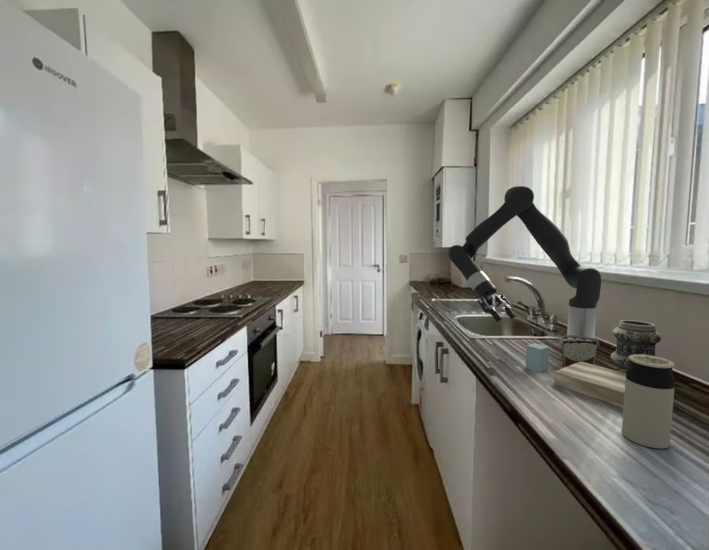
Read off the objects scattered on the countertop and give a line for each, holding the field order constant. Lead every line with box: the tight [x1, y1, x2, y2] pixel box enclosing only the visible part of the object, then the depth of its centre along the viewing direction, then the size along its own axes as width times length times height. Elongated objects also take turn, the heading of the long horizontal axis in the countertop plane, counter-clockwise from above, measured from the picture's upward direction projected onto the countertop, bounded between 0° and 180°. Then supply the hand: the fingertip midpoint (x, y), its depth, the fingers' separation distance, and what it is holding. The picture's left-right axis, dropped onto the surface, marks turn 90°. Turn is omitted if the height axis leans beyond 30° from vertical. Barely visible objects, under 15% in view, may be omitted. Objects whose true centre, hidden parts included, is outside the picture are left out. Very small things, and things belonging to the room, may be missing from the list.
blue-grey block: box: [524, 342, 550, 373], centre depth 115 cm, size 5×5×8 cm
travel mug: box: [621, 354, 676, 449], centre depth 73 cm, size 8×8×18 cm
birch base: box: [553, 361, 626, 409], centre depth 99 cm, size 16×18×4 cm
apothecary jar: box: [610, 319, 662, 373], centre depth 106 cm, size 12×12×18 cm
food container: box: [559, 334, 600, 368], centre depth 119 cm, size 12×6×10 cm, turn 84°
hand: (506, 319), depth 124 cm, fingers open, 8 cm apart
